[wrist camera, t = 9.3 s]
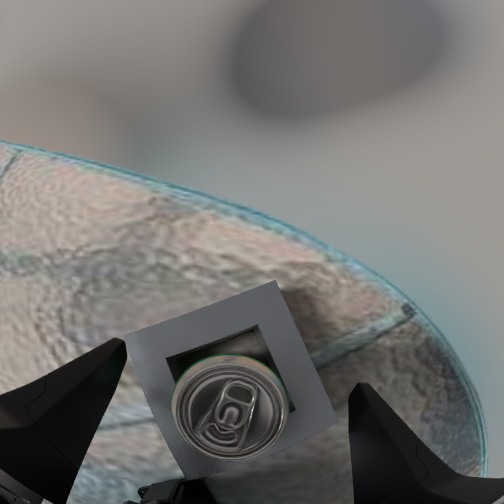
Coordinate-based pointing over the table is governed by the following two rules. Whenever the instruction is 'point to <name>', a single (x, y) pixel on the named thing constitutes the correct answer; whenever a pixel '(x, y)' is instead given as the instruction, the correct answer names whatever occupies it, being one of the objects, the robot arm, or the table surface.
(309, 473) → the table surface
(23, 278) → the table surface
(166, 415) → the sleeve block
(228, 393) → the soda can
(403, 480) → the robot arm
